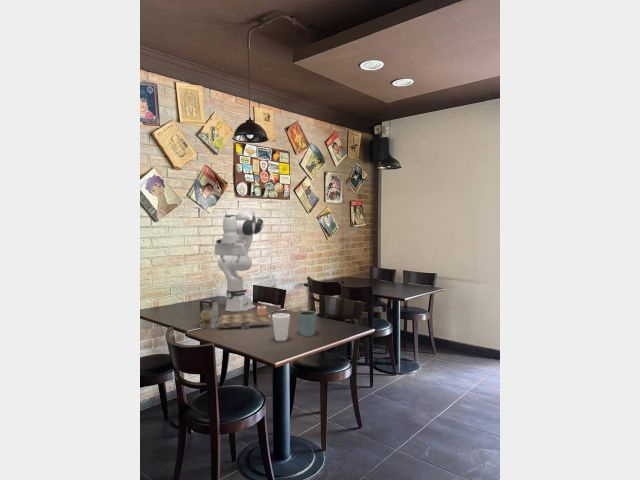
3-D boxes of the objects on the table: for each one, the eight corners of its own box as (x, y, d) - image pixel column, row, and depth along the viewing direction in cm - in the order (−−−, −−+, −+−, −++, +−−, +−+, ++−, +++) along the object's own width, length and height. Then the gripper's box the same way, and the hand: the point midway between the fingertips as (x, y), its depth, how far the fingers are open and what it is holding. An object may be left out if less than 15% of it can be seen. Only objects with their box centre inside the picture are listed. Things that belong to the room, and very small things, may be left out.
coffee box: (199, 327, 237) (198, 300, 236) (205, 324, 243) (205, 298, 242) (212, 328, 234) (212, 301, 233) (218, 325, 240) (218, 299, 239)
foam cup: (272, 336, 216) (272, 313, 216) (289, 336, 217) (289, 313, 216) (272, 342, 207) (272, 317, 206) (289, 341, 208) (289, 317, 207)
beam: (269, 324, 243) (269, 312, 242) (270, 327, 235) (270, 315, 235) (219, 327, 236) (219, 314, 236) (219, 330, 229) (218, 318, 228)
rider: (265, 314, 241) (265, 304, 241) (266, 317, 235) (266, 306, 235) (257, 315, 240) (257, 304, 240) (258, 317, 234) (257, 307, 233)
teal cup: (303, 337, 215) (302, 315, 215) (295, 332, 224) (295, 311, 224) (319, 334, 220) (319, 313, 219) (311, 330, 229) (311, 309, 228)
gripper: (247, 240, 247) (247, 262, 248) (218, 240, 252) (218, 261, 253) (243, 240, 241) (243, 263, 242) (213, 240, 246) (213, 262, 246)
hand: (230, 262), depth 247 cm, fingers open, 8 cm apart
